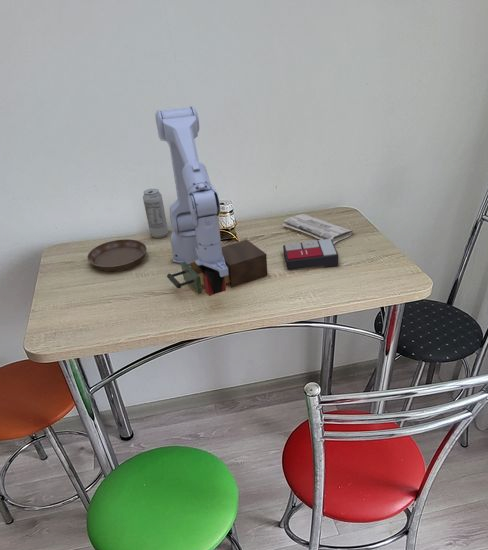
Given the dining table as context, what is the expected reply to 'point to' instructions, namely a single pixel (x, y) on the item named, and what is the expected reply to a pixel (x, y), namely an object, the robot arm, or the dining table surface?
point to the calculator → (310, 254)
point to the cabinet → (244, 262)
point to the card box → (208, 285)
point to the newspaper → (317, 228)
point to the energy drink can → (155, 213)
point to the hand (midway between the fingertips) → (215, 289)
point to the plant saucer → (117, 254)
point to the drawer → (193, 277)
